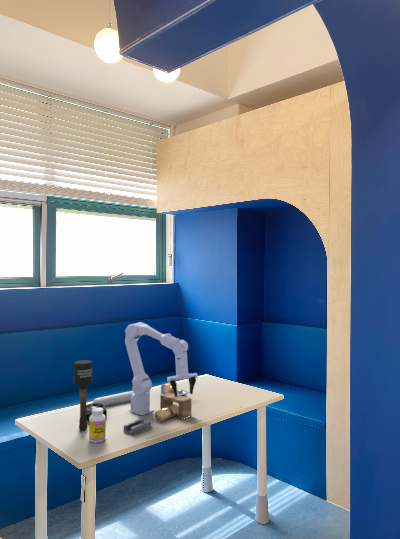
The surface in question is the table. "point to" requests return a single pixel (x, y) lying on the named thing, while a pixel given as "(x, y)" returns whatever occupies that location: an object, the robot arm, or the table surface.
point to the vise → (168, 389)
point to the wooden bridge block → (183, 402)
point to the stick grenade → (83, 387)
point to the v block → (137, 426)
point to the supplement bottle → (97, 426)
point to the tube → (114, 398)
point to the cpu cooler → (94, 405)
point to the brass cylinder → (166, 412)
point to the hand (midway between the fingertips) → (183, 394)
